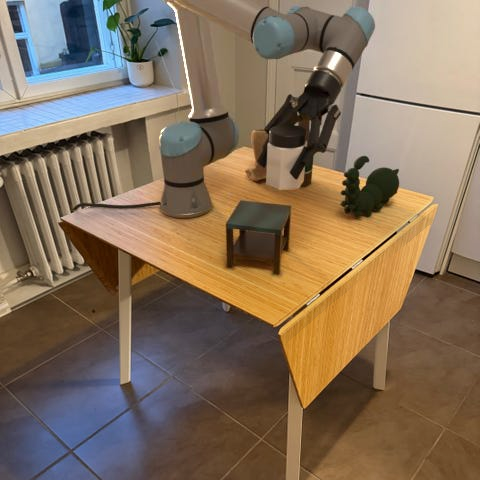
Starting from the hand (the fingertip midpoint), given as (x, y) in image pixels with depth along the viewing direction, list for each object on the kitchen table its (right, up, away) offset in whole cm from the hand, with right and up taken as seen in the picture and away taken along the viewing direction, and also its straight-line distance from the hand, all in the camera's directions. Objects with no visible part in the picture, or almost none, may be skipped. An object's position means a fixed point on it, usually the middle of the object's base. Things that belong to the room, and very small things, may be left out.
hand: (276, 170), depth 105 cm
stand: (-3, -18, +14) cm, 23 cm away
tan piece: (0, +17, +57) cm, 59 cm away
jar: (+2, -2, +4) cm, 5 cm away
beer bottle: (+12, +12, +51) cm, 54 cm away
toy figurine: (+30, -1, +35) cm, 46 cm away
